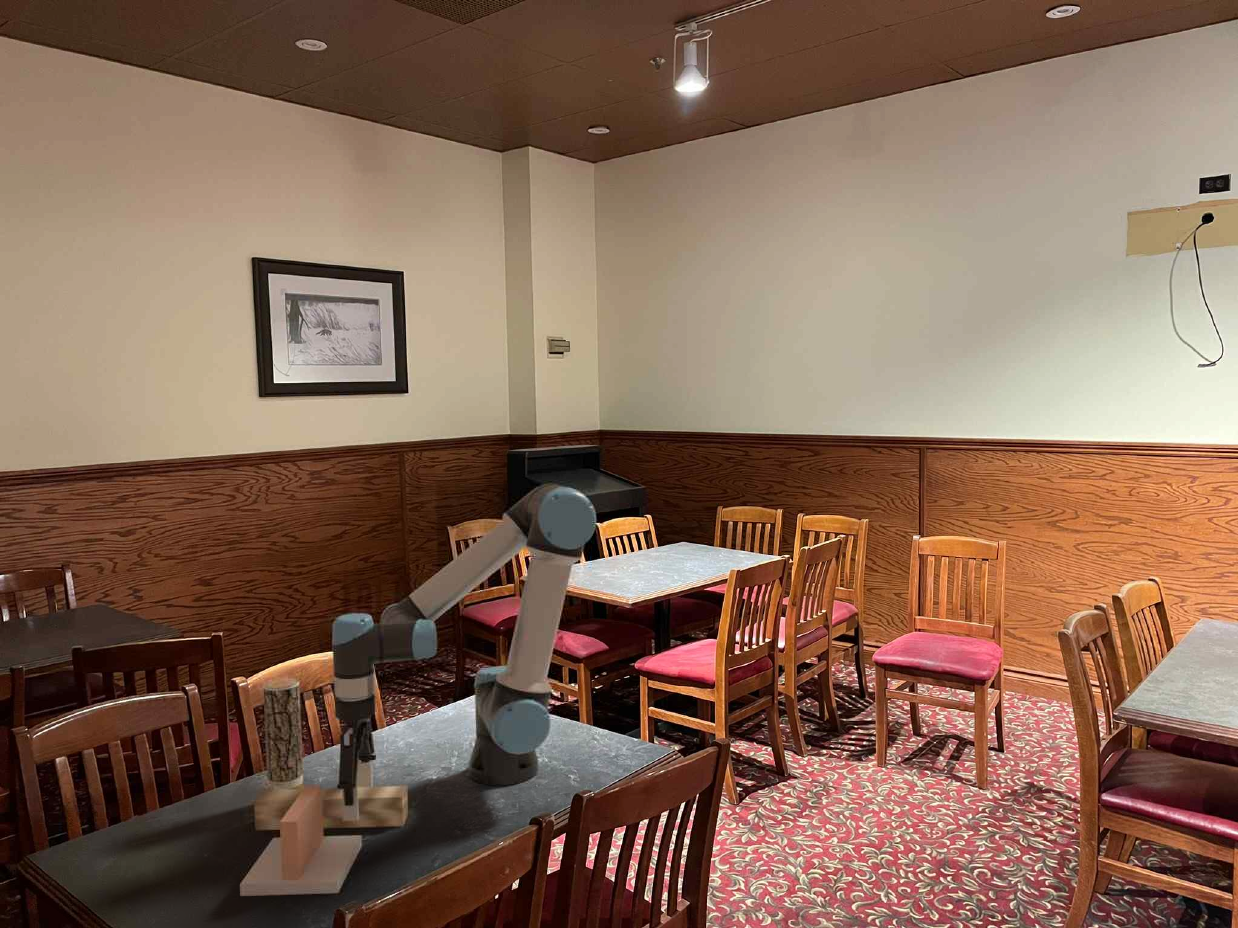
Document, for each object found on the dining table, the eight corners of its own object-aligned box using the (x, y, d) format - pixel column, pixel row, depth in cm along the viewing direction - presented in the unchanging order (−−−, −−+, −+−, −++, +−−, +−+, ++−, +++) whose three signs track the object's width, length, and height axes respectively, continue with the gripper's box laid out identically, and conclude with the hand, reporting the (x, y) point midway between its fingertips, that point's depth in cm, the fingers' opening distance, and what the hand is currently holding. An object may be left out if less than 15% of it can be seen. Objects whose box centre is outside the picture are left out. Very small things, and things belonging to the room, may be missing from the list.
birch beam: (408, 815, 180) (407, 785, 179) (403, 827, 175) (402, 796, 174) (264, 819, 179) (263, 789, 178) (255, 831, 174) (254, 801, 173)
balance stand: (361, 845, 167) (359, 782, 166) (337, 892, 151) (335, 822, 150) (273, 848, 166) (271, 784, 166) (240, 895, 151) (237, 825, 150)
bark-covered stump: (292, 811, 181) (287, 688, 179) (261, 808, 183) (256, 687, 181) (310, 796, 188) (305, 678, 186) (280, 794, 189) (275, 676, 187)
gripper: (350, 677, 186) (354, 782, 188) (317, 716, 163) (321, 835, 165) (387, 676, 187) (390, 781, 188) (359, 715, 164) (363, 834, 165)
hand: (358, 806), depth 177 cm, fingers open, 10 cm apart
